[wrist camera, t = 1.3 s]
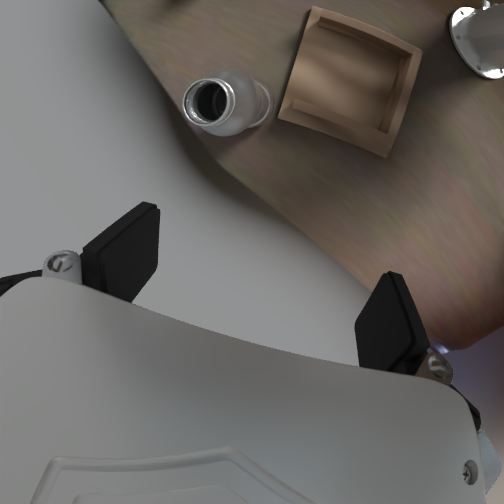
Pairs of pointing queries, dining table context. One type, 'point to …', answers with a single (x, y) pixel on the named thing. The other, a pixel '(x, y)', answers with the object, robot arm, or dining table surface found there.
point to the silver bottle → (227, 102)
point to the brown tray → (351, 81)
